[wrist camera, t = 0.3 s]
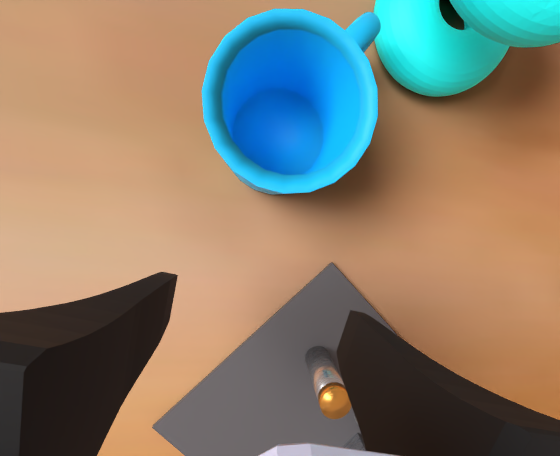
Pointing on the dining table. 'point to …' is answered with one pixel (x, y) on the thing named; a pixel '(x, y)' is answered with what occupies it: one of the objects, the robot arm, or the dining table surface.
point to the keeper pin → (327, 383)
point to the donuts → (458, 39)
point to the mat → (271, 381)
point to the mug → (292, 99)
